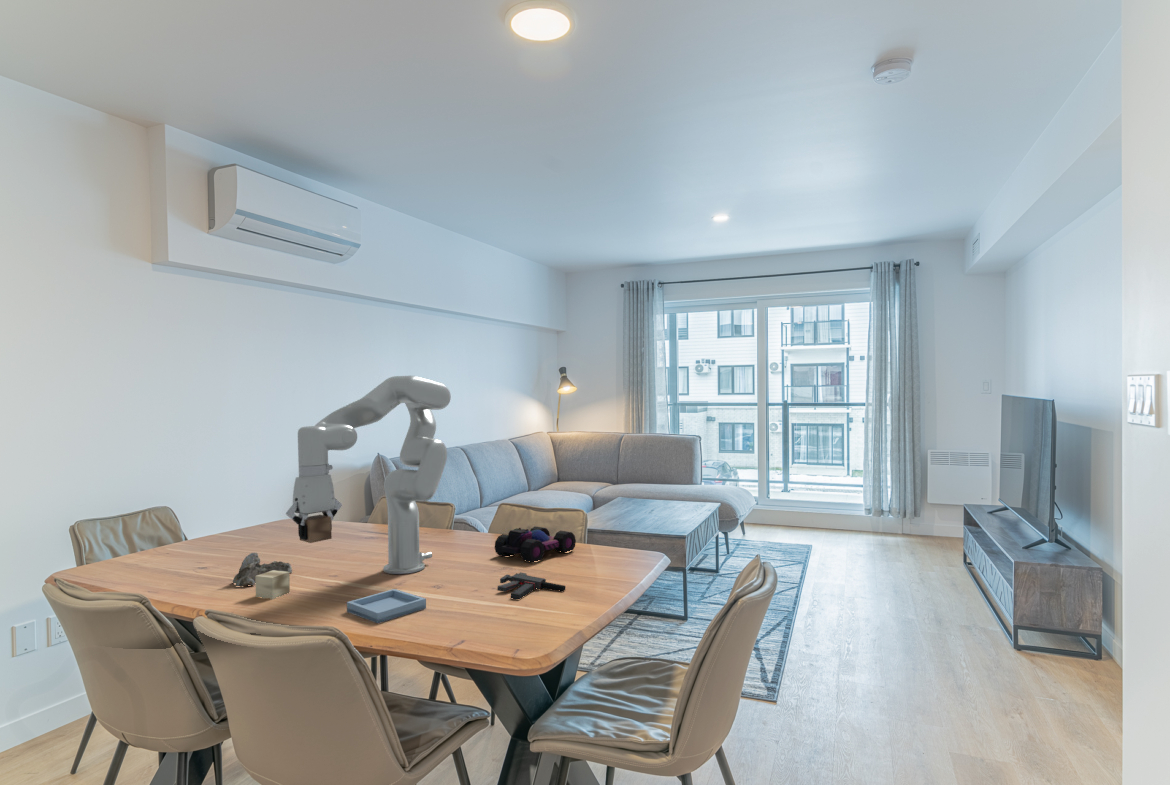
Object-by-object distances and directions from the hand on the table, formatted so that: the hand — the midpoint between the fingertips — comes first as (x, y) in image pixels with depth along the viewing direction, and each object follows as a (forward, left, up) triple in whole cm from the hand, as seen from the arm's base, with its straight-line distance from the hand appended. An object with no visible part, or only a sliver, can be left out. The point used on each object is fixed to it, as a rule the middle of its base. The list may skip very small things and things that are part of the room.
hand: (315, 536), depth 177 cm
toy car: (-71, +15, -17) cm, 75 cm away
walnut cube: (0, 0, -1) cm, 1 cm away
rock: (+1, -31, -17) cm, 36 cm away
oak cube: (+6, -12, -17) cm, 22 cm away
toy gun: (-39, +43, -17) cm, 60 cm away
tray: (-6, +25, -17) cm, 31 cm away
